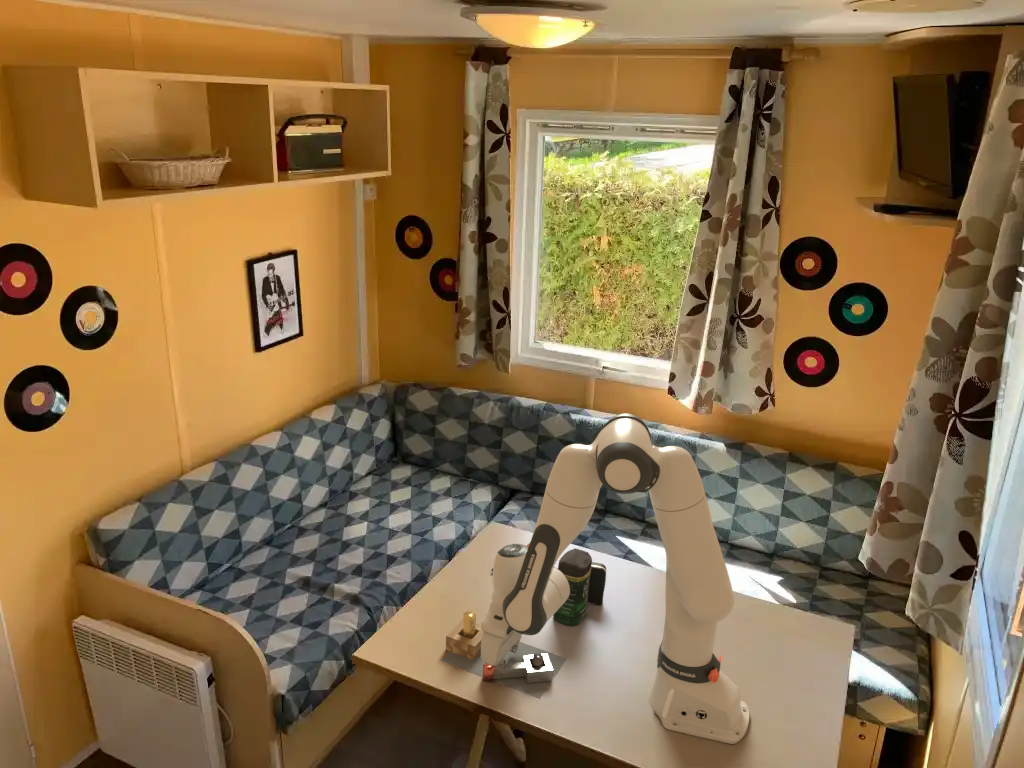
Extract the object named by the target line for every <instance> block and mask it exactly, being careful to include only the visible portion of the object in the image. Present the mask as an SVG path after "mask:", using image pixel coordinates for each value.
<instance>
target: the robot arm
mask: <svg viewBox="0 0 1024 768" xmlns="http://www.w3.org/2000/svg"><path fill="white" fill-rule="evenodd" d="M602 486H604V488H606V490H608V491H611V492H613V493H615V494H620V495H621V494H622V495H623V494H626V495H627V494H629V495H630V494H635V493H646V492H648V493H649V494H648V495H649V497H650V502H651V505H652V508H653V512H654V515H655V521H656V524H657V527H658V531H659V535H660V538H661V539H660V540H661V541H662V544H663V548H664V551H665V558H666V559H665V561H666V566H665V569H666V570H665V619H664V625H663V626H664V627H663V635H662V640H661V643H660V645H659V648H658V652H657V660H656V662H657V663H656V669H657V670H656V673H655V676H654V679H653V682H652V684H651V686H650V688H649V690H648V693H647V700H648V701H647V702H648V703H649V706H650V707H651V708H652V710H653V712H654V714H655V715H656V716H658V718H659V719H660V722H661V725H662V726H663V727H664V728H666V730H669V731H674V732H679V733H683V734H687V735H691V736H695V737H700V738H703V739H707V740H708V739H709V740H712V741H717V742H721V743H725V744H730V745H734V744H737V743H739V742H740V741H741V740H742V739H743V738H744V736H746V733H747V731H748V728H749V724H750V710H749V707H748V705H747V703H746V702H745V701H743V700H741V693H740V690H739V687H738V685H736V684H735V682H733V681H732V680H731V679H730V678H729V677H728V676H727V675H726V674H725V673H724V672H723V671H722V670H721V666H722V665H721V662H722V655H719V657H717V656H715V653H714V647H715V641H716V635H717V627H718V623H719V622H721V621H723V620H725V619H726V618H727V617H728V616H729V615H730V614H731V612H732V610H733V609H734V604H735V599H734V592H733V591H734V590H733V587H732V582H731V580H730V576H729V572H728V569H727V565H726V562H725V559H724V555H723V553H722V549H721V545H720V542H719V539H718V536H717V533H716V531H715V527H714V524H713V519H712V516H711V512H710V507H709V504H708V499H707V496H706V491H705V488H704V484H703V480H702V477H701V475H700V472H699V469H698V468H697V465H696V463H695V461H694V459H693V456H692V454H691V453H690V452H689V451H688V450H686V449H685V448H683V447H681V446H677V445H667V446H664V447H661V446H656V445H654V444H653V445H652V435H651V432H650V430H649V427H648V425H647V424H646V423H645V421H644V420H643V419H642V418H641V417H638V415H635V414H632V413H626V412H625V413H624V412H623V413H620V414H617V415H614V416H613V417H611V418H609V420H608V421H606V422H605V424H603V426H602V427H600V429H598V431H596V432H595V433H594V434H593V435H592V436H591V444H583V443H572V444H569V445H566V446H564V447H563V448H561V449H560V452H559V453H558V455H557V456H556V458H555V461H554V464H553V466H552V469H551V471H550V473H549V477H548V479H547V483H546V487H545V490H544V495H543V498H542V502H541V507H540V509H539V514H538V517H537V520H536V523H535V526H534V531H533V533H532V536H531V539H530V542H529V543H530V544H529V543H528V544H529V547H527V545H524V544H522V543H512V544H506V545H505V546H503V547H502V548H500V549H499V550H498V551H497V552H496V555H495V558H494V562H493V567H492V568H493V572H492V577H491V578H492V585H493V586H492V587H493V590H492V594H491V599H490V600H491V602H490V603H489V606H488V609H487V612H486V613H485V615H484V617H483V619H482V620H481V622H480V625H481V630H483V634H482V638H481V659H482V661H483V662H484V663H486V664H489V665H492V666H496V665H497V664H505V662H506V660H504V659H503V658H504V656H505V655H506V653H507V652H508V651H510V652H513V653H516V652H517V650H518V647H519V642H521V639H522V635H525V636H535V635H537V634H539V633H540V632H541V631H542V630H543V628H544V627H545V626H546V624H547V622H548V621H549V620H550V619H552V617H553V615H554V614H555V613H556V612H557V610H558V609H559V608H560V607H561V606H562V605H563V604H564V603H565V602H566V600H567V599H568V598H569V596H570V585H569V581H568V579H567V577H566V576H565V575H564V573H563V572H562V571H560V570H559V569H558V567H555V565H556V563H557V561H558V559H560V558H561V557H560V556H562V554H563V553H564V552H565V550H567V548H568V547H569V546H570V545H571V544H572V543H573V542H574V541H575V539H577V537H578V536H579V535H581V533H582V532H583V531H584V530H585V528H586V526H587V525H588V524H589V522H590V520H591V518H592V516H593V514H594V511H595V508H596V505H597V502H598V498H599V494H600V490H601V488H602Z"/></svg>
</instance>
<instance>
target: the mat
mask: <svg viewBox="0 0 1024 768" xmlns="http://www.w3.org/2000/svg"><path fill="white" fill-rule="evenodd" d="M536 653H540V654H546V653H547V655H548V657H549V660H550V663H551V665H552V668H553V678H552V681H553V680H554V679H555V677H556V675H557V674H558V673H559V671H560V670H561V668H562V667H563V665H564V663H565V662H566V661H567V659H568V658H567V657H565V656H564V657H563V656H561V655H558V654H555V653H553V652H550V651H547V650H544V649H541V648H538V647H536V646H533V645H531V644H527V643H524V642H521V641H520V642H519V647H518V650H517V652H516V653H513V652H510V651H508V652H507V653H506V655H505V656H504V658H503V659H504V660H506V662H505V664H507V663H519V662H522V655H534V654H536ZM440 661H441V662H443V663H446V664H448V665H452V666H454V667H456V668H459V669H462V670H463V671H464V670H465V671H467V672H470V673H472V674H475V675H478V676H480V677H483V665H484V664H485V663H484V662H483V661H482V659H481V654H480V655H479V656H478V657H477V658H476V659H475V661H474V660H472V659H469V658H466V657H463V656H461V655H458V654H455V653H453V652H450V651H448V652H447V653H446V654H445V655H444V656H443V657H442V659H441V660H440ZM552 681H544V682H533V683H527V681H526V678H525V676H522V677H511V678H500V679H494V680H493V681H492V682H496V683H497V684H498V683H499V684H501V685H504V686H506V687H508V688H511V689H514V690H517V691H519V692H522V693H524V694H526V695H527V694H528V695H530V696H532V697H535V698H538V699H541V698H542V696H543V695H544V693H545V692H546V691H547V688H549V686H550V684H551V683H552Z"/></svg>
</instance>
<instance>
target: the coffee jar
mask: <svg viewBox="0 0 1024 768" xmlns="http://www.w3.org/2000/svg"><path fill="white" fill-rule="evenodd" d="M592 562H593V557H592V556H591V554H590V553H589V552H588V551H585V550H582V549H579V548H572V549H569V550H568V551H566V552H565V553H564V554H563V555H561V557H560V558H559V561H558V566H557V569H559V570H560V571H562V572H563V573H564V575H565V576H566V577H567V579H568V581H569V585H570V596H569V598H568V599H567V600H566V602H565V603H564V604H563V605H562V606H561V607H560V608H559V609H558V610H557V612H556V613H555V614H554V615H553V616H552V617H553V619H554V620H555V621H556V622H558V623H559V624H562V625H564V626H567V627H568V626H569V627H577V626H579V625H580V624H581V623H582V622H583V620H584V619H585V617H586V615H587V612H588V603H587V602H588V589H589V580H590V573H591V567H592Z"/></svg>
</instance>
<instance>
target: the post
mask: <svg viewBox="0 0 1024 768" xmlns="http://www.w3.org/2000/svg"><path fill="white" fill-rule="evenodd" d="M542 666H543V655H542V654H540V653H536V654H534V655H533V662H532V668H538V667H542Z"/></svg>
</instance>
